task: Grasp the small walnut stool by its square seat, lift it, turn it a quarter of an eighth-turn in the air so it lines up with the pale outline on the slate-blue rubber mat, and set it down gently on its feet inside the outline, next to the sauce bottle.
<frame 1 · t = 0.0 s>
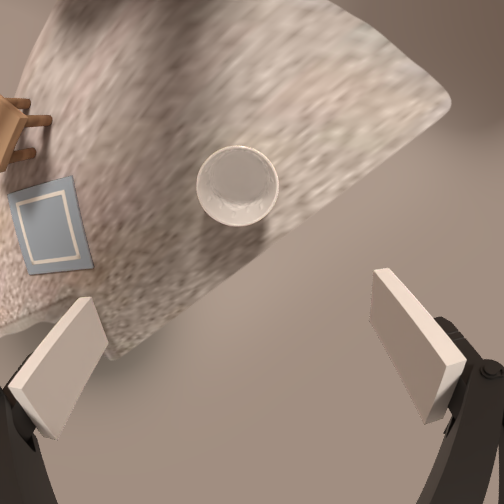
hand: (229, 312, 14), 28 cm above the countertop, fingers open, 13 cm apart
white cup: (240, 173, 39), on the countertop
stool: (29, 128, 35), on the countertop
mat: (47, 229, 41), on the countertop
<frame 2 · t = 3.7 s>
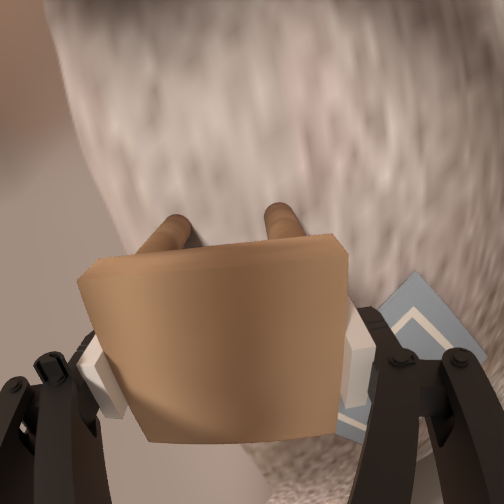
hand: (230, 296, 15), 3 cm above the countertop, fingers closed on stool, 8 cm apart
stool: (233, 269, 18), on the countertop, touching gripper
mat: (395, 381, 22), on the countertop
when the fingers open (5 cm above the countertop, at t = 9.1 s): stool drops 1 cm, resting on mat.
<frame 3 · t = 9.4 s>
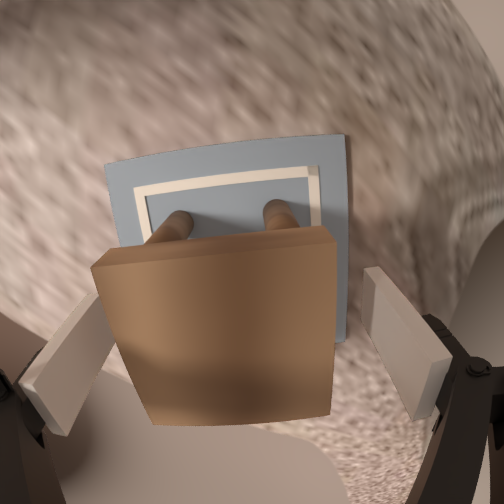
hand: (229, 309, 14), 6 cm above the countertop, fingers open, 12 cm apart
stool: (233, 262, 19), resting on mat
mat: (234, 259, 20), on the countertop
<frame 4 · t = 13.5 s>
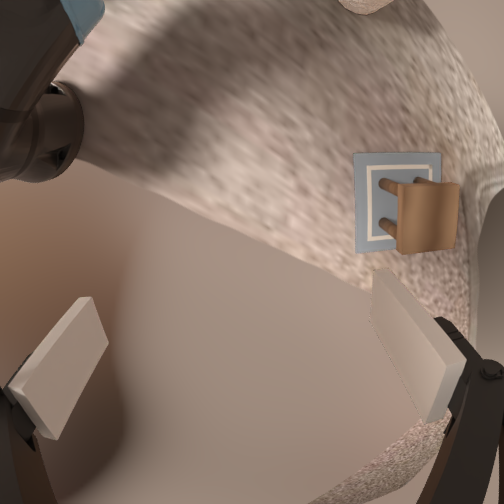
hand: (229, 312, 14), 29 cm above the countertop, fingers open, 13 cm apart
stool: (401, 202, 41), resting on mat
mat: (400, 201, 41), on the countertop
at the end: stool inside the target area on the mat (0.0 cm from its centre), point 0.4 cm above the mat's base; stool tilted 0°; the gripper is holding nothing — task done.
